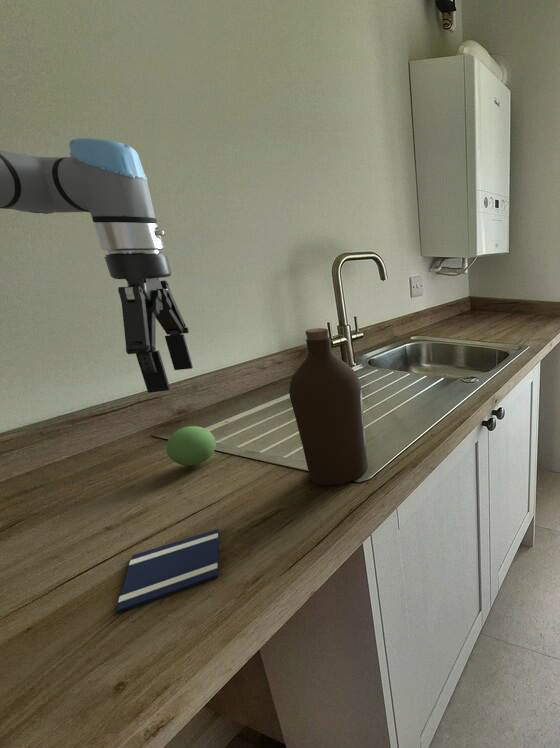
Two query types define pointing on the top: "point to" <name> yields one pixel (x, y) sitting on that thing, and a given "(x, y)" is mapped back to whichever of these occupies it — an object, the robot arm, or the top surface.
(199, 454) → the mango
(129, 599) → the towel
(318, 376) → the olive oil
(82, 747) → the top surface
